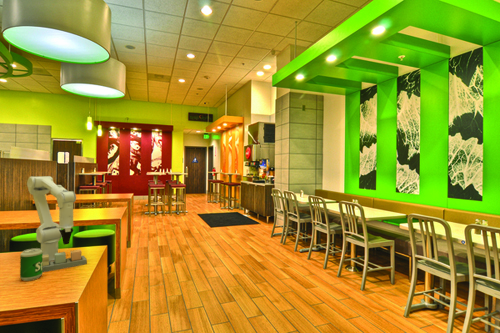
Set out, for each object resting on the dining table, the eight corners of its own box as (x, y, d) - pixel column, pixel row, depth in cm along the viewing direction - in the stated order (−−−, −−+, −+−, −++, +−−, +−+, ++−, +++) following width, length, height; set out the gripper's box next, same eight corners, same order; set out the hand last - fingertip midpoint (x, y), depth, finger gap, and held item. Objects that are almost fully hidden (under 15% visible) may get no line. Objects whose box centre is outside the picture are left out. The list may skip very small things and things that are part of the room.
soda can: (30, 282, 115) (30, 253, 115) (15, 280, 116) (15, 252, 116) (46, 275, 122) (47, 248, 122) (32, 274, 124) (33, 247, 124)
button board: (31, 269, 129) (31, 264, 129) (83, 259, 143) (83, 255, 143) (32, 274, 123) (32, 269, 123) (86, 264, 137) (86, 259, 137)
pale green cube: (54, 261, 133) (54, 253, 133) (64, 259, 136) (64, 251, 136) (55, 264, 130) (55, 255, 130) (65, 262, 133) (65, 253, 133)
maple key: (37, 264, 129) (37, 256, 129) (48, 262, 132) (48, 254, 132) (38, 267, 126) (38, 258, 126) (48, 265, 129) (48, 256, 129)
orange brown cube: (70, 258, 138) (70, 250, 138) (79, 257, 140) (80, 249, 140) (71, 261, 134) (71, 252, 134) (81, 259, 137) (81, 251, 137)
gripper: (55, 215, 140) (55, 242, 140) (57, 219, 128) (57, 248, 128) (71, 213, 144) (71, 240, 144) (75, 217, 133) (75, 246, 133)
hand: (66, 244), depth 137 cm, fingers closed
